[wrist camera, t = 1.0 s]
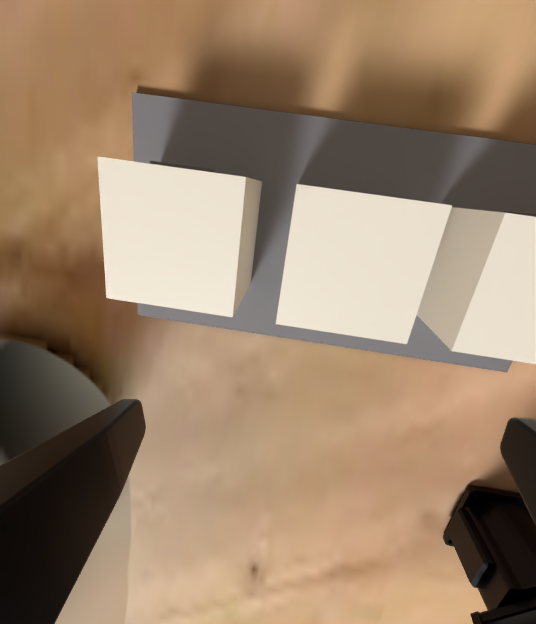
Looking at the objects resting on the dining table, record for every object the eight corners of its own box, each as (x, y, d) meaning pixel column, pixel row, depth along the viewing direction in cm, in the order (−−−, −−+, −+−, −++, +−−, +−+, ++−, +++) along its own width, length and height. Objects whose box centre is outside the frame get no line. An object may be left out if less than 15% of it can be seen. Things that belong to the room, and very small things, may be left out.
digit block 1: (550, 218, 17) (671, 231, 12) (505, 320, 20) (588, 372, 14) (440, 203, 17) (507, 208, 12) (408, 305, 20) (451, 351, 14)
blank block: (403, 200, 18) (452, 205, 12) (376, 301, 20) (406, 344, 14) (297, 186, 18) (296, 184, 12) (281, 286, 20) (275, 324, 14)
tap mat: (603, 155, 16) (610, 154, 16) (503, 369, 21) (507, 372, 21) (135, 94, 17) (132, 92, 17) (140, 312, 22) (137, 314, 22)
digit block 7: (262, 178, 18) (246, 172, 12) (250, 282, 20) (232, 317, 15) (159, 164, 18) (97, 152, 12) (159, 268, 20) (106, 298, 15)
